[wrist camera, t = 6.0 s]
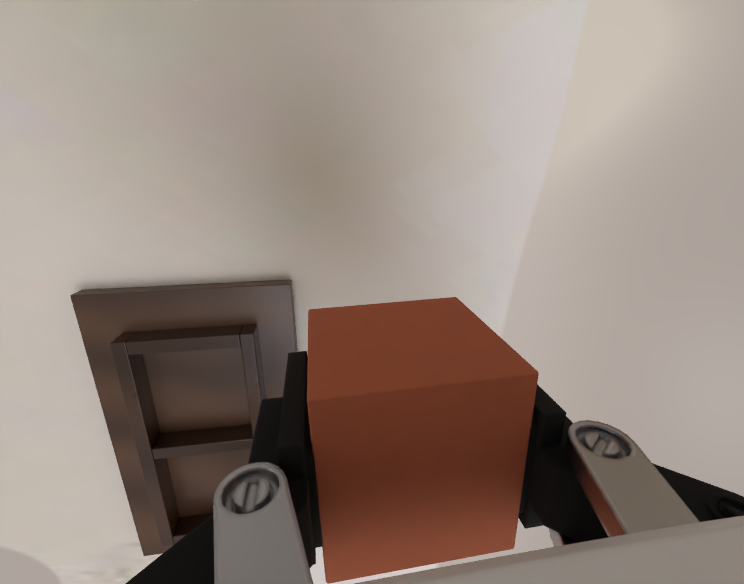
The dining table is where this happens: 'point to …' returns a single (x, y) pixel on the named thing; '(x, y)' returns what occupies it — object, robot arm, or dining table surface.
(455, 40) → the dining table surface
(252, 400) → the dark brown flat tray
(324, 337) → the orange-brown block
